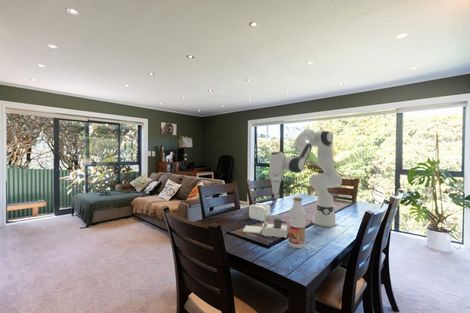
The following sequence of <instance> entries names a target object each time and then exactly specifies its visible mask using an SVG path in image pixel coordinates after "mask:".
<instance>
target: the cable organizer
mask: <svg viewBox="0 0 470 313" xmlns="http://www.w3.org/2000/svg"><path fill="white" fill-rule="evenodd" d="M248 209H249V210H248V217H249V218H250V219H251V220H254V219H255V220H256V221H258V220H259V222H264V214H267V215H271V206H270V205H269V204H266V203H260V202H256V203H255V204H250V205H249V206H248ZM267 220H268V218H267Z"/></svg>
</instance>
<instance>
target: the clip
mask: <svg viewBox="0 0 470 313" xmlns="http://www.w3.org/2000/svg"><path fill="white" fill-rule="evenodd" d="M281 217H282V215H278V214H270V215H267V214H264V221H263V224H264V226H267V224H268V219H271V220H274V219H281V220H282V218H281ZM267 218H268V219H267Z"/></svg>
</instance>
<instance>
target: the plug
mask: <svg viewBox="0 0 470 313" xmlns="http://www.w3.org/2000/svg"><path fill="white" fill-rule="evenodd" d="M273 224H274V228H281V225H282V224H287V222H286V221H284V220H282V218H281V219H273Z"/></svg>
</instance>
